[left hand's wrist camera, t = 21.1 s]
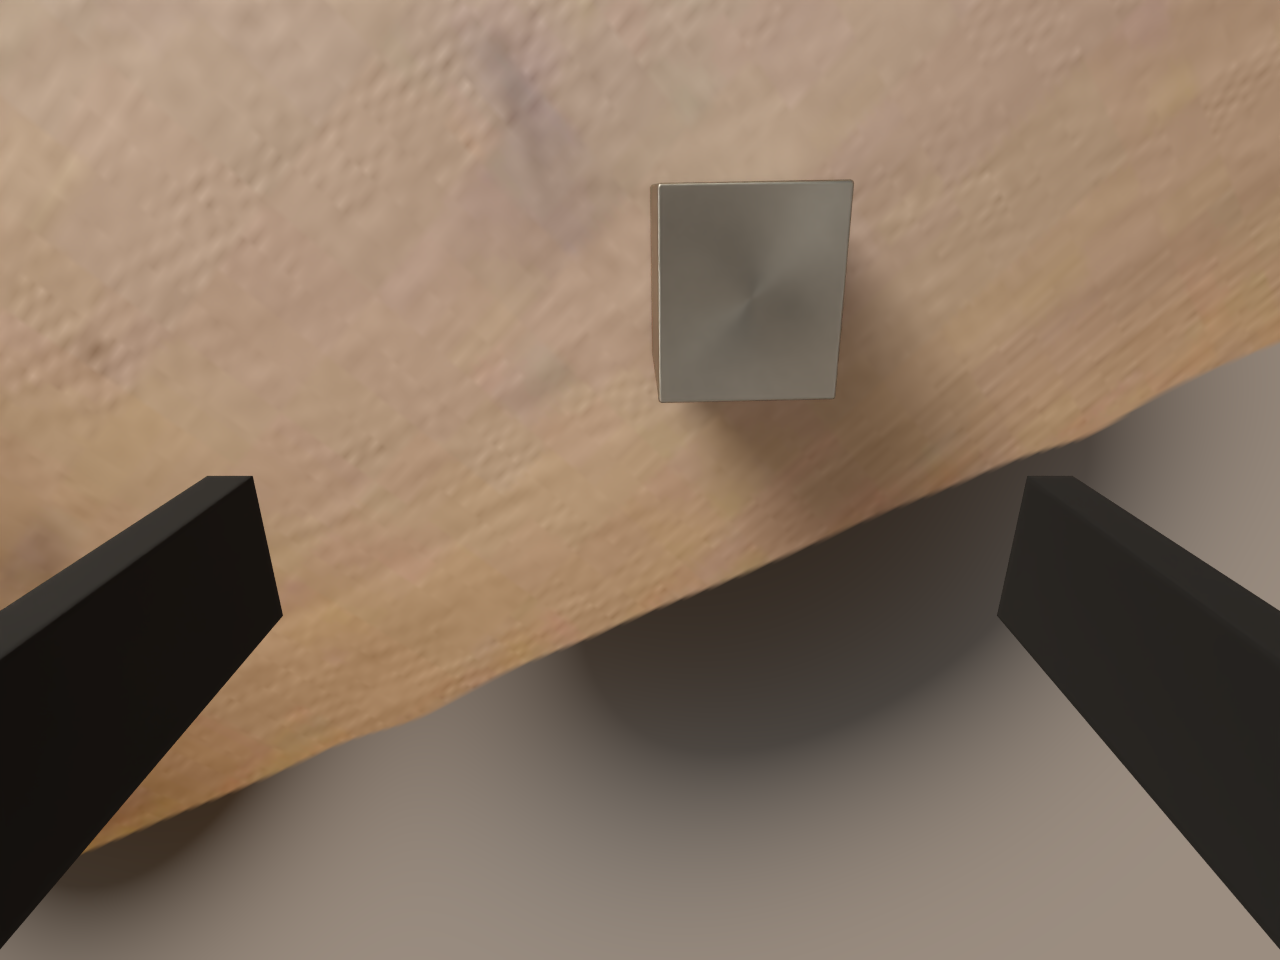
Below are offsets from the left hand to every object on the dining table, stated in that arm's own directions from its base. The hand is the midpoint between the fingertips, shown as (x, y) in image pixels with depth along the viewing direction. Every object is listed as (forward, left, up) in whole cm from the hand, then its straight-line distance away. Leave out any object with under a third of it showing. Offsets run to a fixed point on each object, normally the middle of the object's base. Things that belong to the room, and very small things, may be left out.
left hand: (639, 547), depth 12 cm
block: (+4, +2, -17) cm, 17 cm away
